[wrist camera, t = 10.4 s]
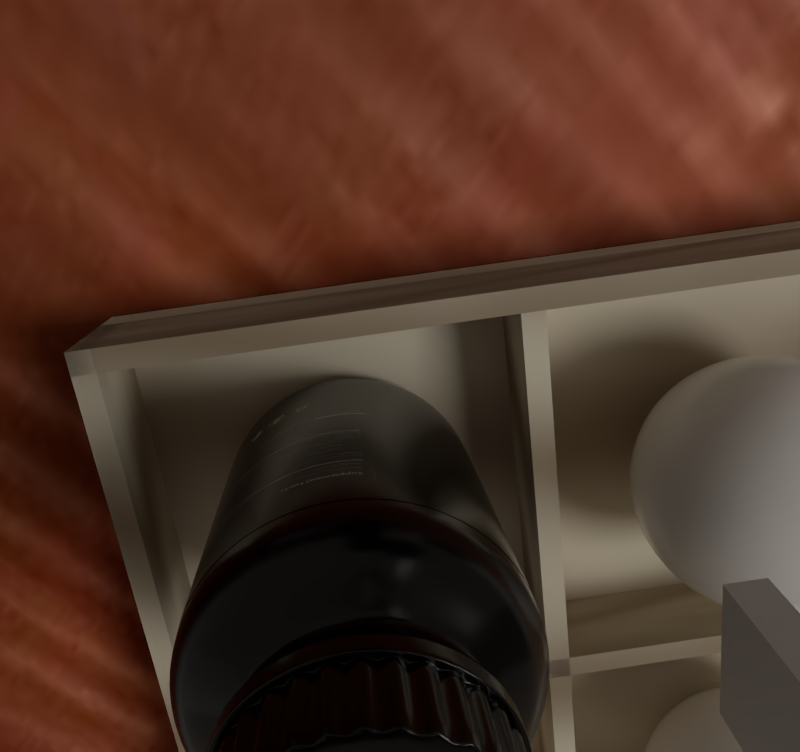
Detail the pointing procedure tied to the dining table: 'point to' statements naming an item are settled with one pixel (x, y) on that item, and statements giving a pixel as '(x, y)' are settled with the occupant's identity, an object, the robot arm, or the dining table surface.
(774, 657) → the robot arm
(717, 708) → the egg
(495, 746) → the supplement bottle
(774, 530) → the egg
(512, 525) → the crate
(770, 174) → the dining table surface
